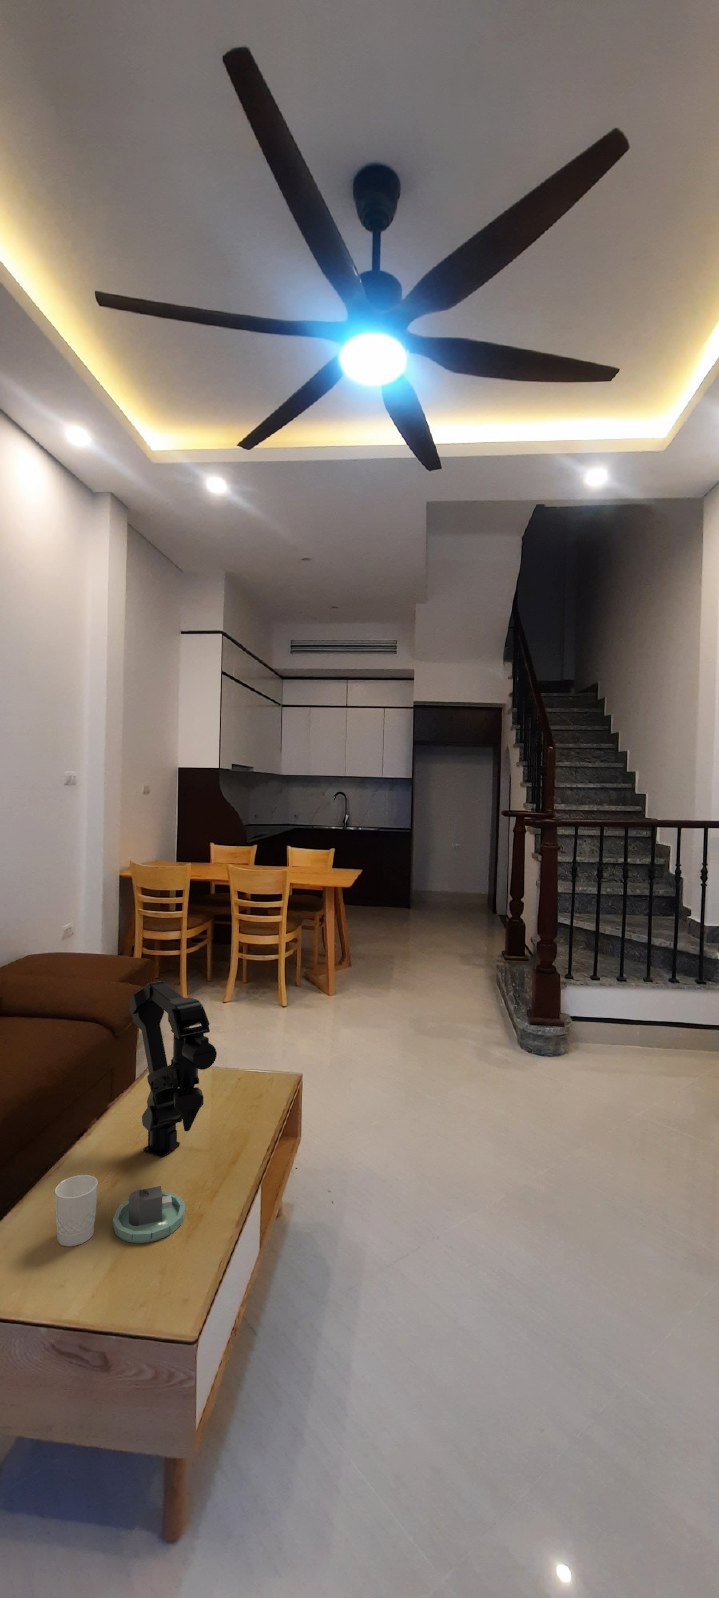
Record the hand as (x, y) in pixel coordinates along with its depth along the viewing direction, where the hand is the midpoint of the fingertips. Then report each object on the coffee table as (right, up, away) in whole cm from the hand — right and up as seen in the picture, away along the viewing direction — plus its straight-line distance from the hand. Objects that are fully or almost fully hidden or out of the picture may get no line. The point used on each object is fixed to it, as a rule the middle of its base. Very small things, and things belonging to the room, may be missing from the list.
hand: (184, 1121), depth 153 cm
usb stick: (-3, -11, -17) cm, 21 cm away
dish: (-3, -12, -17) cm, 21 cm away
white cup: (-16, -12, -22) cm, 30 cm away
